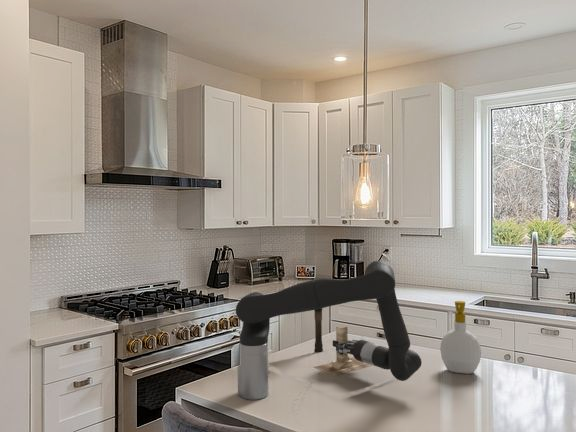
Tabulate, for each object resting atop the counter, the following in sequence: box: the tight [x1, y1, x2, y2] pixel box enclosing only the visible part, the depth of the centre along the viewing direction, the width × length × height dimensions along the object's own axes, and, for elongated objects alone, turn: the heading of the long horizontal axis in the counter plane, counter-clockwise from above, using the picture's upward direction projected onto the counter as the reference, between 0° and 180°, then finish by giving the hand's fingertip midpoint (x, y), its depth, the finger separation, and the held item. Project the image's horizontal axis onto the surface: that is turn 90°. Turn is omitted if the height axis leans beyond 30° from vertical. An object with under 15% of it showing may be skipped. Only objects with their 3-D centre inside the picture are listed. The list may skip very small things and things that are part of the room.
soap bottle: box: [439, 300, 482, 375], centre depth 176 cm, size 14×9×26 cm, turn 66°
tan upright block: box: [331, 325, 353, 370], centre depth 179 cm, size 7×4×15 cm, turn 125°
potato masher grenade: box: [313, 308, 324, 354], centre depth 200 cm, size 8×9×30 cm
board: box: [313, 356, 373, 377], centre depth 183 cm, size 32×12×2 cm, turn 125°
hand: (336, 342), depth 182 cm, fingers closed on tan upright block, 3 cm apart
